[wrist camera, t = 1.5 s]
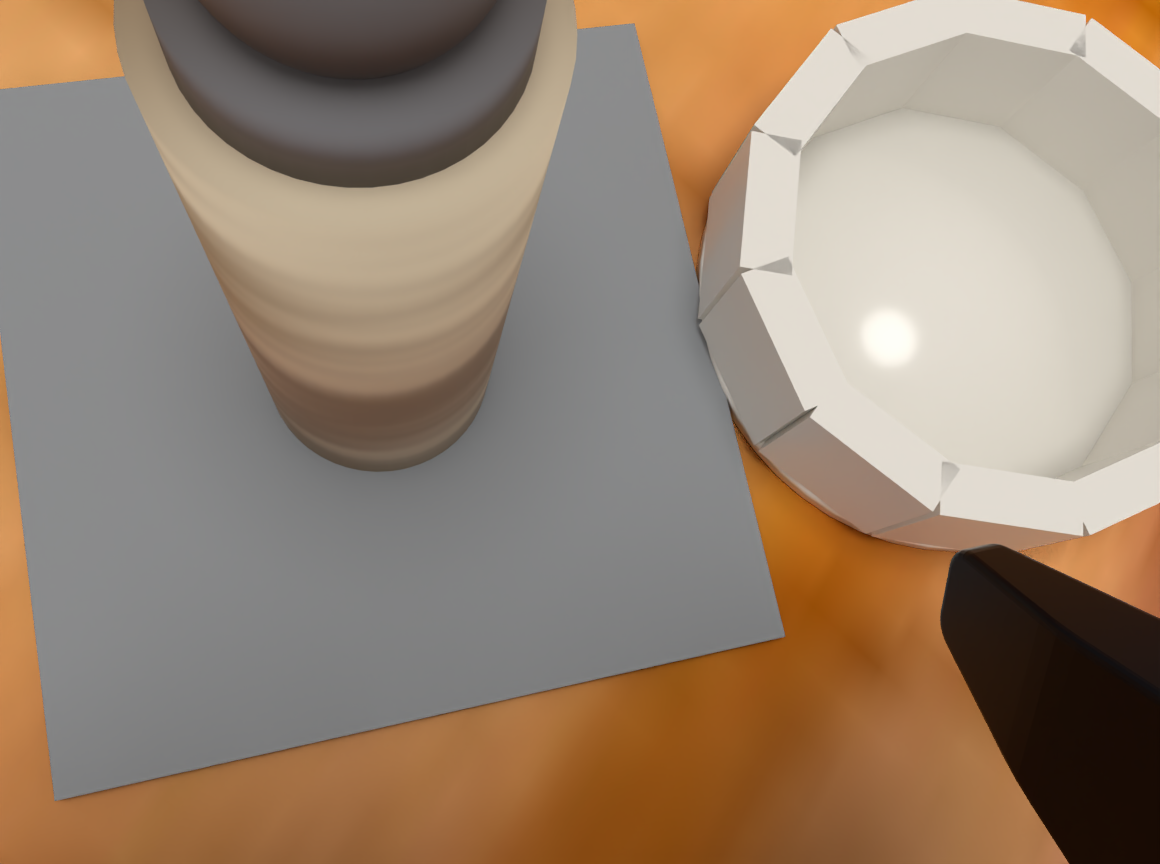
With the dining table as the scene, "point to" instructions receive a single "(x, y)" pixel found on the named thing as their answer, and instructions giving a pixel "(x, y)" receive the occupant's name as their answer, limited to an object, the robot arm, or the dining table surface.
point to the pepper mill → (359, 192)
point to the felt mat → (343, 495)
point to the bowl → (949, 277)
